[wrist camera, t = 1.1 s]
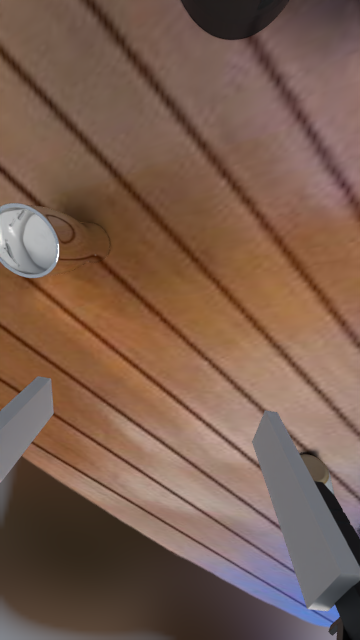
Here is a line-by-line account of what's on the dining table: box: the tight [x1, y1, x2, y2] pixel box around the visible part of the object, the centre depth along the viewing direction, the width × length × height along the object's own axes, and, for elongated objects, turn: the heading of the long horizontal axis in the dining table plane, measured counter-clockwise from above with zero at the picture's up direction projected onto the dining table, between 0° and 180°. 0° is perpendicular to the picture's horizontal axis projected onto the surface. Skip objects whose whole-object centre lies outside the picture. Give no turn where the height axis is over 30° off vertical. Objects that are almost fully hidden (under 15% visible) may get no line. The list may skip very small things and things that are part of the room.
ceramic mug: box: [300, 454, 334, 494], centre depth 47 cm, size 11×8×8 cm
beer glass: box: [0, 203, 110, 278], centre depth 26 cm, size 7×7×15 cm
